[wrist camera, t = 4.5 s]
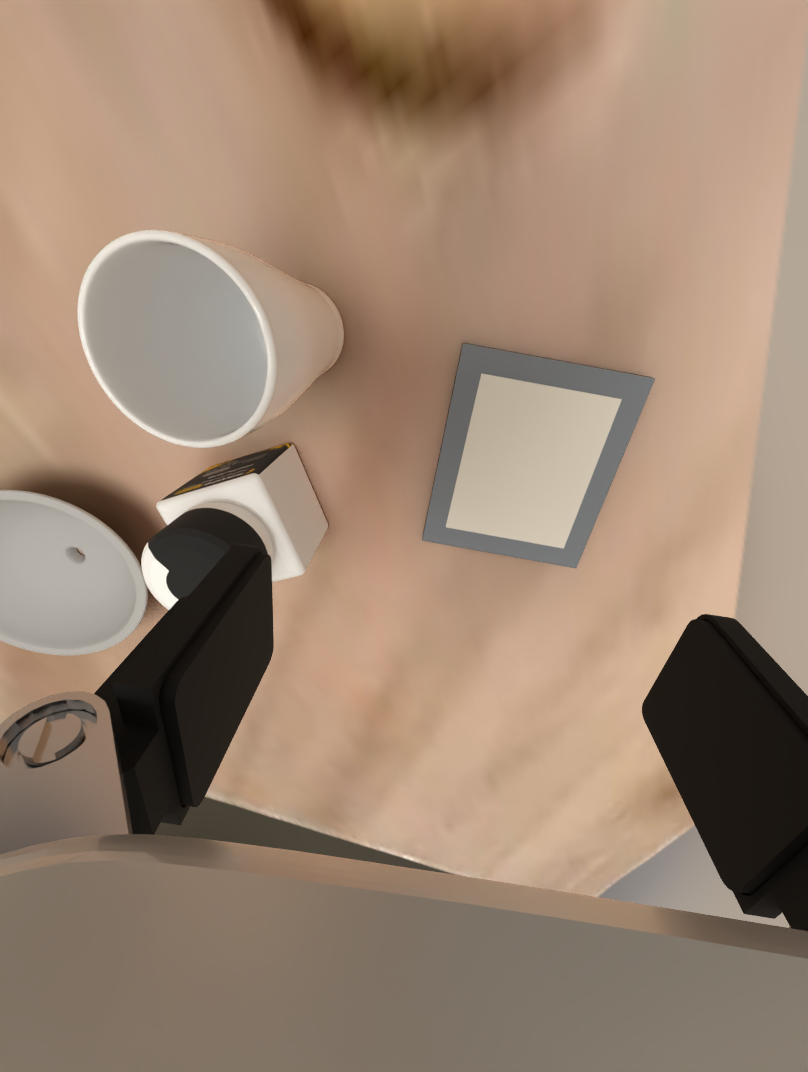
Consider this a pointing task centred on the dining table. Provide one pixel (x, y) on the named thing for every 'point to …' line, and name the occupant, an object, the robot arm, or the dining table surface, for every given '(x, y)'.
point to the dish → (64, 578)
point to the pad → (530, 453)
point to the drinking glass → (201, 336)
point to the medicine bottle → (235, 521)
